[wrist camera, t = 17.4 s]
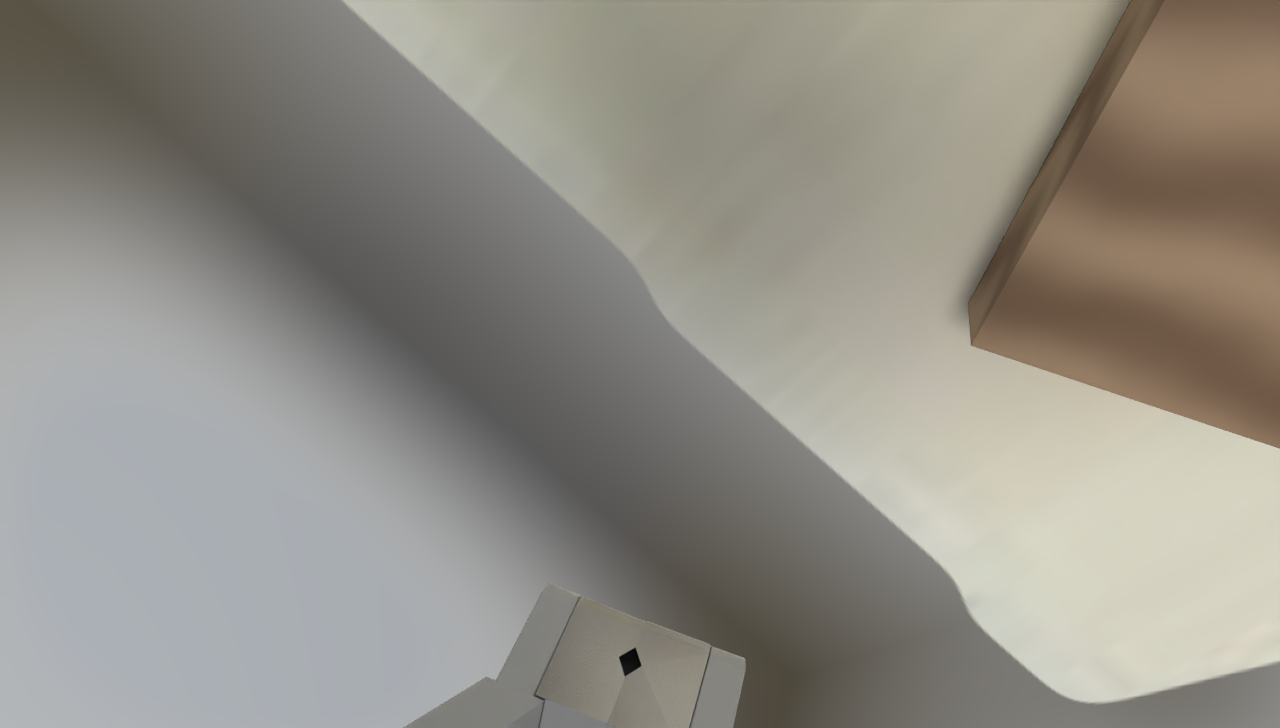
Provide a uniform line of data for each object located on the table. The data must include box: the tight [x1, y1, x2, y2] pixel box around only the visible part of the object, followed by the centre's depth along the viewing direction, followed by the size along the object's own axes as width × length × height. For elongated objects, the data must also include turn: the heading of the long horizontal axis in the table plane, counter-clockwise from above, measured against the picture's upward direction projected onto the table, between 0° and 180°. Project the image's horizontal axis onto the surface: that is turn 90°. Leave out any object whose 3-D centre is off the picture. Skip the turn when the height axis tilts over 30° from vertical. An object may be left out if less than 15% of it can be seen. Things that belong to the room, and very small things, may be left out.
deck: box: [968, 0, 1280, 448], centre depth 29 cm, size 19×14×4 cm
